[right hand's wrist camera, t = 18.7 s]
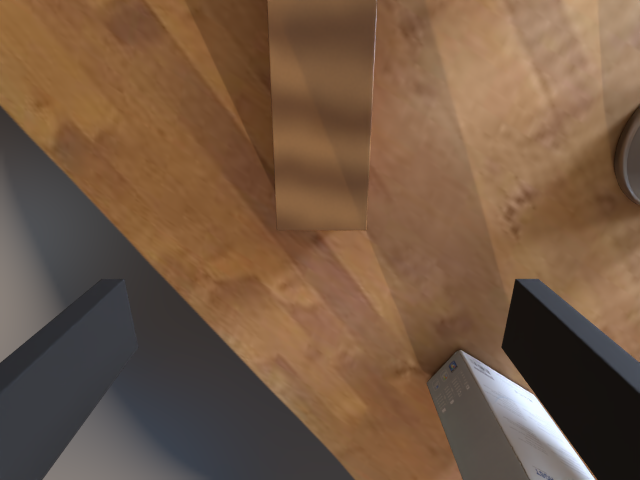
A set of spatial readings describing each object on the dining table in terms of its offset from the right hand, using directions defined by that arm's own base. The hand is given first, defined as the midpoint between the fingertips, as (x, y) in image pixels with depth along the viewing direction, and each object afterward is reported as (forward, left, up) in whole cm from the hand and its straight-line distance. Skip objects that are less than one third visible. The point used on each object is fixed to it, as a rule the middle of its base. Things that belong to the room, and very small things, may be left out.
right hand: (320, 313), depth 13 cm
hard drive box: (-12, +39, -34) cm, 53 cm away
